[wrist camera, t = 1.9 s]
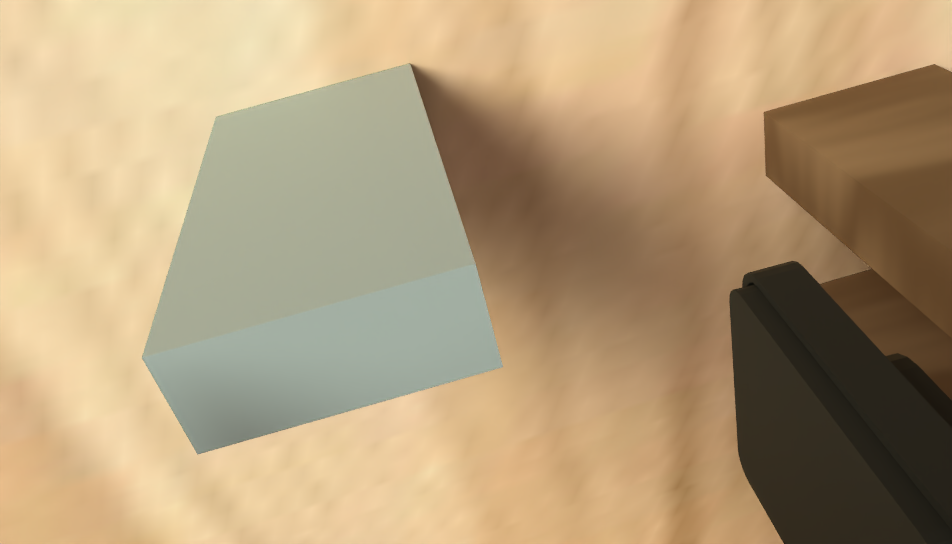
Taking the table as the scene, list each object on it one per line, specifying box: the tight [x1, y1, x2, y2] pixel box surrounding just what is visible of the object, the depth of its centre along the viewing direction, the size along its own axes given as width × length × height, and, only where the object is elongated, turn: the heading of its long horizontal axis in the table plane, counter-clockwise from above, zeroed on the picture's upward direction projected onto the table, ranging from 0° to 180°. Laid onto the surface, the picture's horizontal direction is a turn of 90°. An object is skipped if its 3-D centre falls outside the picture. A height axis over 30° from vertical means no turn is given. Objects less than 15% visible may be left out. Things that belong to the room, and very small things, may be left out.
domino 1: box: [142, 64, 503, 454], centre depth 17 cm, size 2×5×10 cm, turn 103°
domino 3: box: [820, 269, 952, 400], centre depth 22 cm, size 2×5×10 cm, turn 103°
